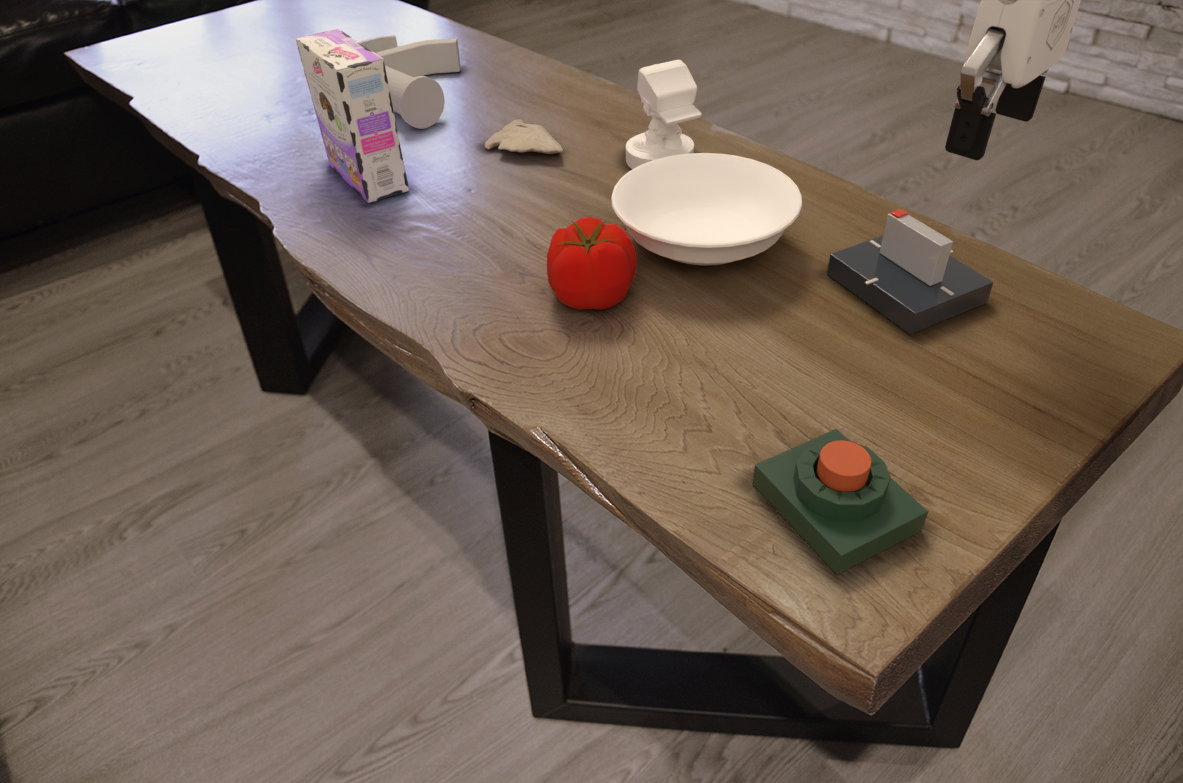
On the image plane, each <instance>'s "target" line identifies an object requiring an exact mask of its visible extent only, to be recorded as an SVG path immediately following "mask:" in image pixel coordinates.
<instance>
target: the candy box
mask: <svg viewBox="0 0 1183 783" xmlns="http://www.w3.org/2000/svg"><path fill="white" fill-rule="evenodd" d="M295 42H296V45H297V50H298V53H299V58H300V61H301V65H302V68H303V72H304V76H305V79H306V83H307V86H308V90H309V94H310V97H311V101H312V104H313V109H314V112H315V116H316V120H317V123H318V127H319V130H320V135H321V139H322V141H323V146H324V149H325V153H326V157H327V160H328V164H329V166H330V167H331V168H332V169H333V170H334V171H335V172H336V173H337V174H338V175H339V176H340V177H341V178H342V179H343V180H344V181H345V182H346V183H347V184H348V185H349V186H350V187H351V188H352V189H353V190H354V191H355V192H356V193H358V195H359V196H360V197H361V198H362V199H363V200H364V201H365V202H366V203H367V204H370V203H374V202H379V201H380V200H383V199H387V198H390V197H393V196H396V195H400V194H404V193H407V192H409V191H410V187H409V182H408V177H407V173H406V166H405V164H404V163H405V162H404V157H403V153H402V148H401V143H400V136H399V133H398V132H399V131H398V127H397V120H396V116H395V112H394V111H393V105H392V100H391V95H390V90H389V84H388V79H387V75H386V69H385V64H384V59H383V58H381V57H380V56H378V55H377V54H375V53H374V52H372V51H371V50H369V49H368V48H366V47H365V46H363V45H362V44H360V43H359V42H360V41H358V40H356V39H354V38H353V37H352V36H350V35H348V33H346V32H344V30H342V29H340V28H335V29H330V30H326V31H321V32H317V33H313V34H310V35H305V36H301V37H297V38H295Z"/></svg>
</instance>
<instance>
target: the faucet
mask: <svg viewBox="0 0 1183 783" xmlns="http://www.w3.org/2000/svg"><path fill="white" fill-rule="evenodd" d="M397 40H398V39H397V36H396V35H395V34H394V35H382V36H376V37H372V38H369V39H365V40H360V41H358V42H359V43H360V44H362V45H363V46H365V47H366V48H368V49H369V50H371V51H372V52H374V53H375V54H377V55H378V56H380V57H381V58H383V59H384V64H385V69H386V75H387V79H388V84H389V90H390V95H391V100H392V105H393V111H394V113H396V114H399V115H400V116H401V118H402V119H403V121H404V122H405V123H406V124H407V125H409V126H411V127H413V128H415V129H421V130H422V129H428V128H430V127H432V126H433V125H435V124H436V123H437V122H438V121H439V120H440V118H441V116H442V114H443V112H444V108H445V94H444V91H443V89H442V88H443V87H442V86H441V85H440V83H439V82H437V81H436V80H435V79H434V78H432V77H429V76H428V75H433V74H446V73H447V74H448V73H459V72H461V70H462V67H461V57H460V49H459V41H458V37H456V38H455V37H454V38H453V37H452V38H440V39H427V40H421V41H415V42H412V43H407V44H403V45H399V46H398V41H397Z"/></svg>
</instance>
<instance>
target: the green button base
mask: <svg viewBox="0 0 1183 783" xmlns="http://www.w3.org/2000/svg"><path fill="white" fill-rule="evenodd" d="M840 440H843V441H850V442H853V443H856V444H858V445H860V446H862V447H863V448H864V449H865V450H866V451H867V452H868V453H869V455H870V457H871V467H870V471H869V475H868V479H867V482H866V484H865V485H864V486H863V487H862V488H861V489H859V490H857V491H853V492H840V491H836V490H833V489H831V488H829V487H827V486H826V485H824V484H823V483H822V482H821V480H820V479H819V477H818V474H817V466H818V461H819V456H820V452H821V450H822V448H823V447H824V446H825V445H826V444H828V443H830V442H833V441H840ZM751 484H752V485H753V487H755V488H756V489H757V491H758V492H759V493H760V494H761V495H762V496H763V497H764V498H765V499H766V500H767V501H768V502H769V504H770V505H771V506H772V507H773V508H774V509H775V510H776V512H778V513H779V514H780V516H781V517H782V518H783V519H784V520H785V521H786V522H787V523H788V524H789V525H790V526H791V527H792V529H793V530H794V531H795V532H796V533H797V534H798V535H799V536H800V537H801V538H802V540H804V541H805V542H806V544H808V546H809V547H810V548H811V549H812V550H813V551H814V553H816V554H817V555H818V557H819V558H820V559H821V560H822V561H823V562H824V563H825V564H826V565H827V566H828V567H829V569H831V571H833V573H834V574H835V575H839V574H841V573H843V572H845V571H847V570H849V569H851V568H853V567H854V566H857V565H859V564H861V563H863V562H864V561H866V560H869V559H871V558H872V557H875V556H876V555H878V554H880V553H882V552H884V551H885V550H888V549H890V548H892V547H894V546H896V545H898V544H899V543H901V542H904V541H906V540H907V539H910V538H911V537H913V536H915V535H917V534H918V533H920V532H922V531H923V527H924V525H925V523H926V520H927V517H928V514H929V510H927V509H926V508H925V507H924V506H923V505H922V504H921V503H919V502H918V501H917V500H916V499H915V498H914V497H913V496H912V495H911V494H910V493H909V492H908V491H906V490H905V489H904V488H902V486H900V485H899V483H897V482H896V481H895V480H894V479H893V478H892V477H891V476H890V474H889V471H888V467H887V464H886V462H885V461H884V460H883V459H882V458H880V457H879V456H878V454H876V453H875V452H874V451H873V450H872V449H870V448H869V446H868V447H867V446H865V445H862V444H859V443H857V442H855V441H851V440H849V438H848V437H846V435H844V434H843V433H842V432H841V431H840V430H839V429H838V428H834V429H833V430H830V431H828V432H825V433H823V434H821V435H818V436H817V437H814V438H812V439H810V440H808V441H806V442H802V443H801V444H799V445H797V446H794V447H792V448H789V449H787V450H784V451H783V452H780V453H778V454H776V455H774V456H771V457H769V458H767V459H764V460H763V461H759V462H758V463H756V464H754V469H753V476H752V483H751Z"/></svg>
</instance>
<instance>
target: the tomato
mask: <svg viewBox="0 0 1183 783" xmlns="http://www.w3.org/2000/svg"><path fill="white" fill-rule="evenodd" d="M630 237H631V236H630V234H629V233H627V232H626V231H625V230H624V228H622V227H621V226H619V225H618V224H617V223H609V224H607V220H606V221H603V220H602V219H601V218H597V217H594V216H586V217H580V218H578V219H577V220H575V221H573V220H571V224H570V225H568V226H567V227H566V228H562V227H561V228H558V229H557V230H556V231H554V233H553V234H552V236H551V240H550V242H549V246H548V250H547V253H546V275H547V280H548V285H549V286H550V288H551V290H552V292H554V294H555V297H556V298H557V300H558V301H559V302H560V303H561V304H563V305H565V306H567V307H569V308H572V309H575V310H579V311H580V310H600V311H602V310H607V309H609V308H613V307H615V306H616V305H617V304H619V303H621V302H622V301H623V300H625V298H626V296H627V295H628V294H627V293H628V291H629V288H630V287H631V285H632V284H633V281H634V279H635V277H636V275H637V266H638V258H637V253H636V248H635V246H634V243H633V241H632V239H631V238H630Z"/></svg>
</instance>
